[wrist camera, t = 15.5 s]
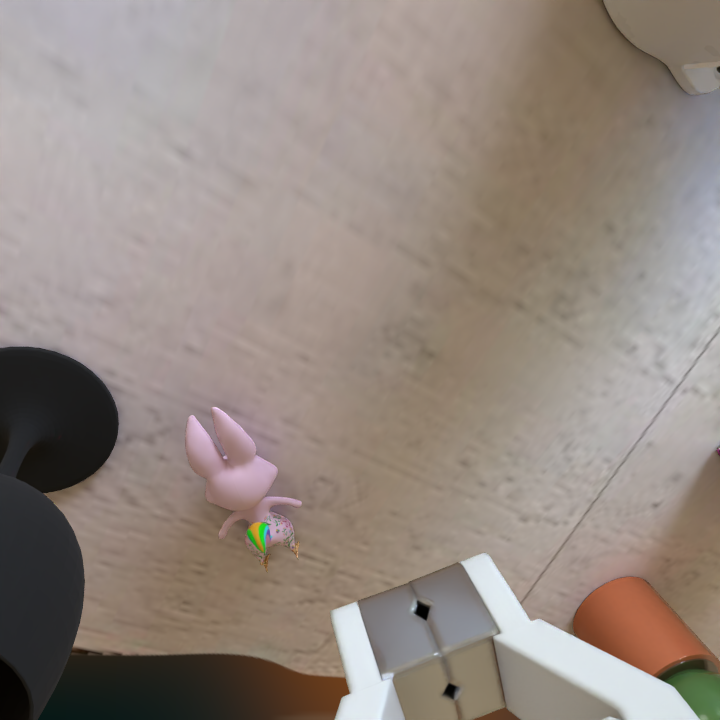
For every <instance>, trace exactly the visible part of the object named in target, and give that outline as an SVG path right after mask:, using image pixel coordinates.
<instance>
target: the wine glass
mask: <svg viewBox="0 0 720 720" xmlns="http://www.w3.org/2000/svg"><path fill="white" fill-rule="evenodd" d="M118 425H119V422H118V412H117V409H116V405H115V402H114V400H113V398H112V396H111V394H110V392H109V390H108V389H107V388H106V386H105V385H104V384H103V382H102V381H101V380H100V379H99V378H98V377H97V376H96V375H95V374H94V373H93V372H92V371H91V370H89V369H88V368H86V367H85V366H84V365H82V364H81V363H79V362H77V361H75V360H73V359H72V358H70V357H67V356H65V355H62V354H59V353H57V352H54V351H49V350H45V349H41V348H32V347H8V348H1V349H0V720H38V718H39V716H40V714H41V713H42V711H43V709H44V707H45V705H46V704H47V702H48V700H49V698H50V696H51V695H52V693H53V691H54V689H55V687H56V685H57V683H58V681H59V679H60V677H61V675H62V673H63V670H64V668H65V666H66V663H67V661H68V658H69V656H70V653H71V650H72V647H73V644H74V640H75V637H76V634H77V631H78V627H79V624H80V619H81V614H82V609H83V598H84V584H85V579H84V567H83V559H82V554H81V549H80V547H79V544H78V541H77V539H76V536H75V534H74V531H73V529H72V528H71V526H70V524H69V523H68V521H67V519H66V518H65V516H64V514H63V513H62V512H61V511H60V510H59V509H58V508H57V506H56V505H55V504H54V503H53V502H52V501H51V500H50V499H49V498H48V497H46V496H45V495H44V494H43V493H48V492H53V491H58V490H62V489H65V488H68V487H71V486H73V485H75V484H77V483H79V482H81V481H83V480H85V479H86V478H88V477H89V476H91V475H92V474H94V473H95V472H96V471H97V470H98V469H99V468H100V467H101V466H102V465H103V464H104V463H105V461H106V460H107V459H108V457H109V456H110V454H111V452H112V450H113V448H114V445H115V442H116V439H117V435H118Z"/></svg>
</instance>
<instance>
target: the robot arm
mask: <svg viewBox="0 0 720 720" xmlns="http://www.w3.org/2000/svg"><path fill="white" fill-rule="evenodd" d="M603 2H604V4H605V7H606V9H607V11H608V13H609V15H610V17H611V19H612V20H613V22H614V24H615V25H616V26H617V28H618V29H619V31H620V32H621V33H622V34H623V35H624V36H625V37H626V38H627V39H628V40H629V41H630V42H631V43H632V44H633V45H635V46H636V47H637V48H639V49H640V50H642V51H644V52H646V53H647V54H649V55H651V56H653V57H655V58H657V59H659V60H660V61H662V62H663V63H664V64H666V65H667V66H668V68H669V70H670V71H671V73H672V74H673V76H674V78H675V79H676V81H677V82H678V84H679V85H680V86H681V88H682V89H683V90H684V91H685V92H687V93H688V94H691V95H699V94H706V93H709V92H712V91H714V90H716V89H718V88H719V87H720V67H719V66H720V0H603ZM717 67H719V69H718V70H717ZM358 605H359V606H358ZM359 608H360V609H359ZM360 611H361V612H360ZM361 614H362V615H361ZM330 616H331V622H332V626H333V630H334V634H335V638H336V642H337V646H338V650H339V653H340V657H341V661H342V665H343V669H344V673H345V677H346V681H347V684H348V688H349V692H350V694H349V695H346V696H344V697H342V699H341V702H340V705H339V708H338V711H337V714H336V717H335V720H472V719H475V718H478V717H481V716H483V715H486V714H488V713H491V712H494V711H496V710H499V709H501V708H504V707H507V710H509V711H510V712H511V713H513V714H514V715H515V716H517V717H518V718H519V719H521V720H700V719H699V718H698V717H697V715H696V714H695V713H694V711H693V710H692V709H691V708H690V706H689V705H688V704H687V703H686V701H685V700H684V699H683V698H682V696H681V695H680V694H679V693H678V691H677V690H676V689H675V688H674V687H673V686H671V685H669V684H667V683H665V682H663V681H661V680H659V679H657V678H655V677H653V676H652V675H650V674H648V673H646V672H644V671H642V670H640V669H638V668H636V667H634V666H632V665H630V664H628V663H626V662H624V661H622V660H620V659H618V658H616V657H614V656H612V655H610V654H608V653H606V652H604V651H602V650H600V649H598V648H596V647H594V646H592V645H590V644H588V643H586V642H584V641H582V640H580V639H578V638H576V637H574V636H573V635H571V634H569V633H567V632H565V631H563V630H561V629H559V628H557V627H555V626H553V625H551V624H549V623H547V622H545V621H543V620H541V619H536V620H533V621H531V620H530V619H529V617H528V616H527V614H526V612H525V611H524V609H523V608H522V606H521V605H520V603H519V601H518V600H517V598H516V597H515V595H514V594H513V592H512V590H511V589H510V587H509V586H508V584H507V582H506V581H505V579H504V578H503V576H502V575H501V573H500V571H499V570H498V568H497V567H496V565H495V564H494V562H493V560H492V559H491V557H490V556H489V555H488V554H487V553H485V552H484V553H482V554H479V555H477V556H474V557H471V558H469V559H466V560H464V561H461V562H460V563H455V564H452V565H450V566H447V567H445V568H442V569H440V570H437V571H435V572H432V573H430V574H427V575H425V576H422V577H420V578H417V579H415V580H412V581H410V582H409V583H407V584H404V585H401V586H398V587H395V588H392V589H390V590H387V591H384V592H381V593H378V594H375V595H373V596H370V597H367V598H364V599H361V600H358V603H357V602H354V603H351V604H348V605H346V606H343V607H340V608H337V609H335V610H332V611H330Z"/></svg>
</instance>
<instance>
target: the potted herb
mask: <svg viewBox="0 0 720 720" xmlns="http://www.w3.org/2000/svg"><path fill="white" fill-rule="evenodd" d="M573 630H574V634H575V636H576V638H578V639H580V640H582V641H584V642H586V643H588V644H590V645H592V646H594V647H596V648H598V649H600V650H602V651H604V652H606V653H608V654H610V655H612V656H614V657H616V658H618V659H620V660H622V661H624V662H626V663H628V664H630V665H632V666H634V667H636V668H638V669H640V670H642V671H644V672H646V673H648V674H650V675H652V676H653V677H655V678H657V679H659V680H661V681H663V682H665V683H667V684H669V685H671V686H673V687H674V688H675V689H676V690H677V691H678V693H679V694H680V695H681V696H682V698H683V699H684V700H685V701H686V703H687V704H688V705H689V706H690V708H691V709H692V710H693V711H694V713H695V714H696V715H697V717H698V718H699V719H700V720H720V661H719V660H718V658H717V657H716V656H715V655H714V654H713V653H712V652H711V651H710V650H709V649H708V647H707V646H706V645H705V644H704V643H703V642H702V641H701V640H700V639H699V638H698V636H697V635H696V634H695V633H694V632H693V631H692V630H691V629H690V628H689V627H688V625H687V624H686V623H685V622H684V621H683V620H682V619H681V618H680V617H679V615H678V614H677V613H676V612H675V611H674V610H673V609H672V608H671V607H670V606H669V604H668V603H667V602H666V601H665V600H664V599H663V598H662V597H661V596H660V595H659V593H658V592H657V591H656V590H655V589H654V588H653V587H652V586H651V585H650V584H649V582H647V581H646V580H644V579H642V578H638V577H623V578H619V579H616V580H613V581H610V582H608V583H606V584H604V585H603V586H601V587H599V588H598V589H596V590H595V591H594V592H593V593H591V594H590V595H589V596H588V597H587V598H586V599H585V600H584V602H583V603H582V604H581V606H580V607H579V609H578V610H577V612H576V615H575V617H574V621H573Z"/></svg>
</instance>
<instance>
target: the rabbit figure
mask: <svg viewBox="0 0 720 720" xmlns="http://www.w3.org/2000/svg"><path fill="white" fill-rule="evenodd" d="M211 412H212V416H213V421H214V427H215V431H216V434H217V437H218V439H219V441H220V444H221V446H222V448H223V450H224V452H225V454H226V455H225V456H223V457H222V455H221V453H220V452H219V450H218V448H217V447H216V445H215V444H214V442H213V440H212V439H211V437H210V436H209V434H208V433H207V431H206V430H205V429H204V428H203V427H202V426H201V424H200V423H199V422H198V420H197V419H196V418H195V416H193V415H191V416H190V417H189V418H188V421H187V426H186V437H185V447H186V454H187V457H188V460H189V463H190V466H191V468H192V469H193V470H194V472H195V473H196V474H198V475H199V476H201V477H204V478H206V479H207V481H206V491H205V497H206V499H207V500H208V501H209V502H211V503H212V504H215V505H218V506H220V507H223V508H225V509H228V510H232V511H234V512H233V513H232V514H231V516H230V517H229V518H228V519H227V520H226V521H225V523H224V524H223V526H222V528H221V530H220V531H219V534H218V537H219V538H220V539H223V538H225V537H226V535H227V532H228V530H229V528H230V527H231V526H232V525H233V524H234V523H235V522H236V521H238V520H241V519H245V520H247V521H248V522H249V526H248V529H247V532H246V536H245V543H246V546H247V547H248V549H249V550H250V551H251V552H252V553H253V554H254V556H255V557H256V558H257V559H258V560H259V561H260V564H261V565H264V566H265V568H266V571H267V573H268V570H267V566H268V559H269V555H271V554H268V555H267V556H266V554H267V551H268V548H270V547H272V546H275V545H280V544H281V545H283V546H286V547H288V548H290V549H291V550H292V551H293V552H294V553H295V555H296V557H297V559H298V556H297V555H298V547H299V543H300V542H299V541H298V543H297V544H296V543H295V535H294V528H293V526H292V524H291V522H290V521H289V520H288V519H287V518H286V517H284V516H282V515H279V514H277V513H274V512H271V511H270V508H271V507H273V506H275V505H281V504H284V505H290V506H293V507H295V508H299V507H301V505H302V503H301V501H299V500H296V499H292V498H286V497H274V496H272V497H264V496H265V495H266V494H267V492H268V490H269V489H270V487H271V485H272V484H273V482H274V480H275V478H276V476H277V472H278V470H277V467H276V466H275V465H273V464H271V463H270V462H268V461H266V460H265V459H263V458H261V457H259V456H257V455H255V454H256V445H255V443H254V442H253V440H252V439H251V438H250V437H249V436H248V435H247V433H246V432H245V431H244V430H243V429H242V428H241V427H240V426H239V425H238V424H237V423H236V422H235V421H234V420H233V419H231V418H230V417H229V416H228V415H227V414H226V413H225V412H223V411H222V410H220V409H219V408H217V407H212V408H211ZM298 560H299V559H298Z"/></svg>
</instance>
